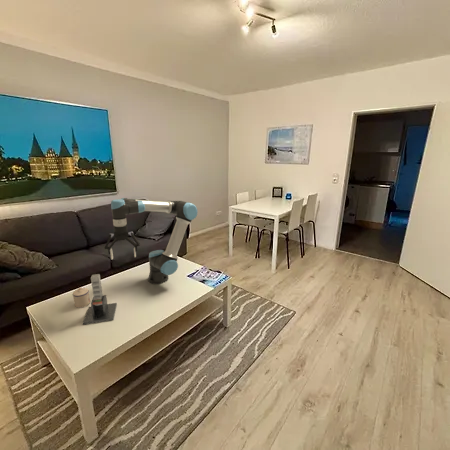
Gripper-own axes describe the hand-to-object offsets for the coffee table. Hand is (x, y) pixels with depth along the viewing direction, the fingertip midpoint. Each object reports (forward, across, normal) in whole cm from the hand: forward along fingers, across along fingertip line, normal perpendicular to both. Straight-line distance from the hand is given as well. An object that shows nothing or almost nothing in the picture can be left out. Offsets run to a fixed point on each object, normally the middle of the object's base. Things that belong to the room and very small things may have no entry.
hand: (123, 257), depth 156 cm
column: (+23, -15, -11) cm, 30 cm away
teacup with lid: (+31, -29, +5) cm, 43 cm away
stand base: (+31, -15, -11) cm, 36 cm away
